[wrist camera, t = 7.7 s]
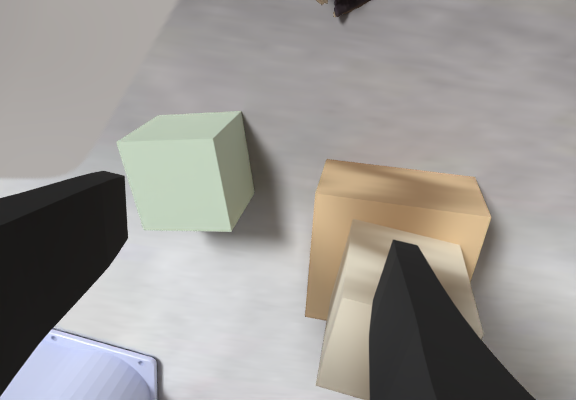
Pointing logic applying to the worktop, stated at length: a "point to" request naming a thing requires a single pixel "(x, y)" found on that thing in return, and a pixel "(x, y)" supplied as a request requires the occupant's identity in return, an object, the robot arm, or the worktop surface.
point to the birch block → (359, 296)
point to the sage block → (189, 171)
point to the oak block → (389, 216)
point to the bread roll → (344, 5)
